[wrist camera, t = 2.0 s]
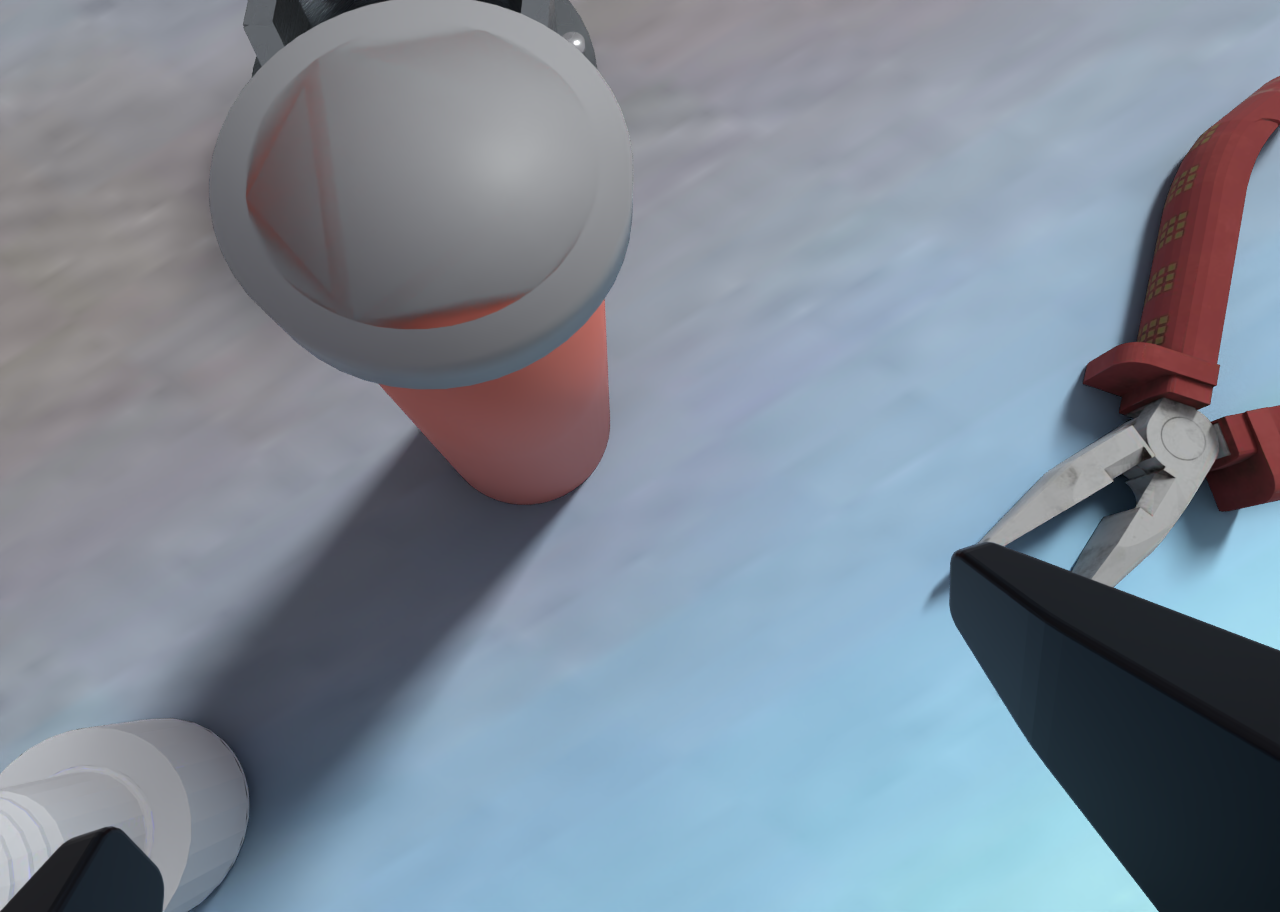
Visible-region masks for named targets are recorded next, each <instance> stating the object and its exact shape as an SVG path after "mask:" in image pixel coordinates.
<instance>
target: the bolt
mask: <svg viewBox="0 0 1280 912" xmlns="http://www.w3.org/2000/svg"><path fill="white" fill-rule="evenodd" d="M248 819H249V790H248V786H247V782H246V777H245V774H244V772H243V769H242V767H241V764H240V762H239V760H238V759H237V757H236V755H235V754H234V752H233V751H232V750H231V749H230V747H229V746H228V745H227V744H226V742H224V741H223V740H222V739H221V738H219V737H218V736H217V735H216V734H214V733H213V732H212V731H211V730H209V729H207V728H205V727H202V726H200V725H198V724H196V723H194V722H191V721H185V720H180V719H174V718H162V719H146V720H139V721H132V722H124V723H117V724H110V725H103V726H96V727H89V728H82V729H76V730H71V731H68V732H65V733H62V734H59V735H56V736H53V737H50V738H48V739H46V740H44V741H43V742H41V743H39V744H37V745H35V746H34V747H32V748H30V749H28V750H27V751H26V752H24V753H23V754H21V755H20V756H19V757H18V758H17V759H16V760H14V761H13V762H12V763H10V764H9V765H8V766H7V767H6V768H5V770H4V771H3V772H2V773H1V774H0V911H1V910H2V909H3V908H4V906H5V905H6V904H7V903H8V902H9V901H10V900H11V899H12V898H13V897H14V896H15V894H16V893H17V892H18V891H19V890H20V889H21V888H22V887H23V886H24V885H25V884H26V883H27V881H28V880H29V879H30V878H31V877H32V876H33V875H34V874H35V873H36V872H37V871H38V869H39V868H40V867H41V866H42V865H43V864H44V863H45V862H46V861H47V860H48V859H49V858H50V856H51V855H52V854H53V853H54V852H55V851H56V850H57V849H58V848H59V847H60V846H61V845H62V844H63V843H65V842H66V841H67V840H69V839H71V838H73V837H76V836H79V835H82V834H85V833H88V832H91V831H94V830H97V829H100V828H104V827H109V826H113V827H116V828H120V829H121V830H123V831H124V832H125V833H126V834H127V835H128V836H129V837H130V838H131V839H132V840H133V842H134V843H135V844H136V845H137V846H138V847H139V848H140V849H141V850H142V851H143V852H144V853H145V854H146V855H147V856H148V857H149V858H150V859H151V860H152V862H153V863H154V864H155V865H156V866H157V867H158V868H159V870H160V872H161V875H162V878H163V882H164V903H163V912H188V911H190V910H191V909H193V908H194V907H196V906H198V905H199V904H200V903H201V902H202V901H203V900H204V899H205V898H206V897H207V896H208V895H209V894H210V893H212V892H213V891H214V890H215V889H216V888H217V887H218V886H219V885H220V884H221V882H222V881H223V879H224V878H225V876H226V875H227V873H228V872H229V870H230V869H231V867H232V866H233V864H234V863H235V860H236V858H237V856H238V853H239V851H240V848H241V846H242V843H243V841H244V838H245V833H246V828H247V824H248Z"/></svg>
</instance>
